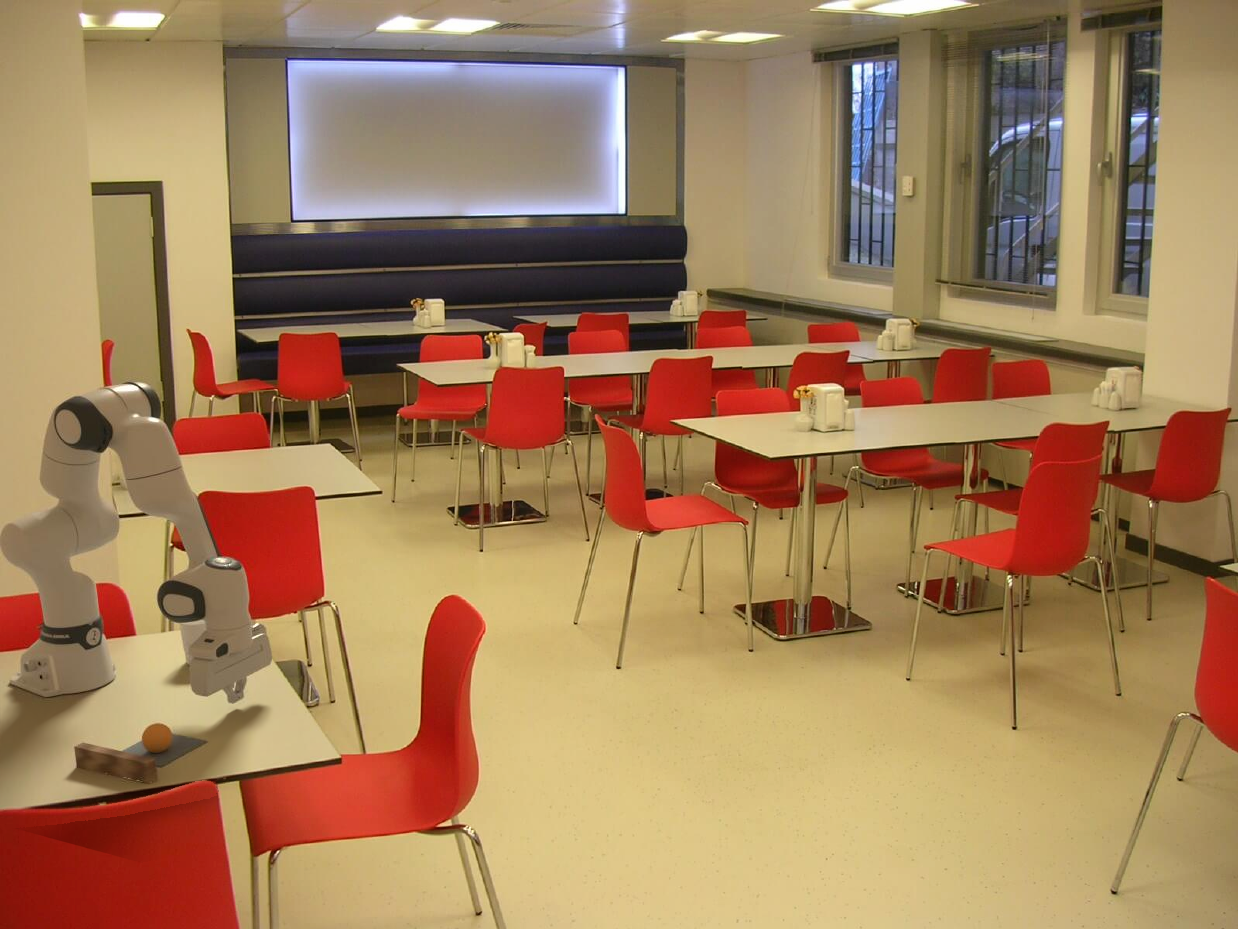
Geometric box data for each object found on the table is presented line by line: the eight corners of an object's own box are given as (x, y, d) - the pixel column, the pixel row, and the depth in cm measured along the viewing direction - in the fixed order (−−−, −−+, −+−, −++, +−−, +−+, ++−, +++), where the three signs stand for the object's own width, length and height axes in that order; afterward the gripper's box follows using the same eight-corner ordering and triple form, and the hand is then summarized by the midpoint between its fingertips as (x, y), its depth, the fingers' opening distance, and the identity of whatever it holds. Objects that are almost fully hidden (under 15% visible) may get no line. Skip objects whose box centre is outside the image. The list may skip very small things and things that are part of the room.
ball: (158, 725, 255) (148, 753, 253) (142, 718, 250) (131, 746, 248) (182, 729, 253) (172, 758, 251) (165, 722, 248) (155, 751, 246)
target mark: (113, 756, 250) (113, 755, 250) (160, 731, 260) (160, 730, 260) (161, 767, 244) (161, 766, 244) (207, 741, 255) (207, 740, 255)
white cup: (209, 668, 293) (205, 625, 291) (176, 666, 295) (172, 623, 292) (226, 655, 301) (222, 613, 298) (194, 653, 302) (190, 612, 300)
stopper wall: (76, 766, 246) (74, 746, 245) (85, 762, 247) (82, 742, 247) (149, 784, 238) (146, 763, 237) (157, 779, 240) (155, 758, 239)
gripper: (252, 618, 278) (258, 680, 281) (181, 651, 260) (188, 717, 263) (276, 622, 275) (281, 685, 278) (206, 655, 257) (213, 722, 260)
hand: (235, 700), depth 270 cm, fingers closed
